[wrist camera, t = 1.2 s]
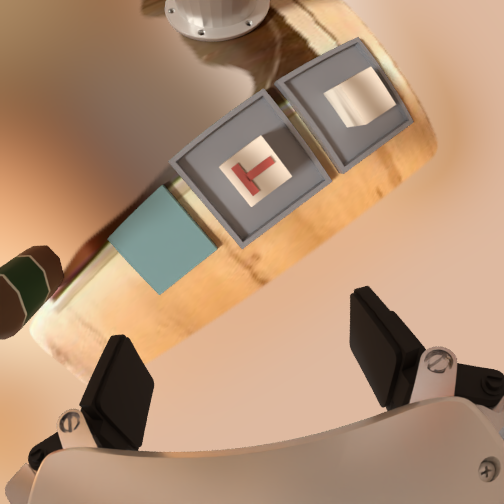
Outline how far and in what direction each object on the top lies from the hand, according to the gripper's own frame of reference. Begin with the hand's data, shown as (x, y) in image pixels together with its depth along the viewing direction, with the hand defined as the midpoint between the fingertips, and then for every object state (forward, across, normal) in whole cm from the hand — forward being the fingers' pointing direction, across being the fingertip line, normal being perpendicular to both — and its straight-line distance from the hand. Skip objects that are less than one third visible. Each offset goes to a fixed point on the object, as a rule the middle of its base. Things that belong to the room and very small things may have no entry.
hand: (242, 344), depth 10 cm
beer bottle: (+23, +29, +1) cm, 37 cm away
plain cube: (+23, -16, -11) cm, 30 cm away
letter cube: (+23, -3, -4) cm, 23 cm away
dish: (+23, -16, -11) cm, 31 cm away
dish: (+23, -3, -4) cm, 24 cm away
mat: (+23, +10, +2) cm, 25 cm away
